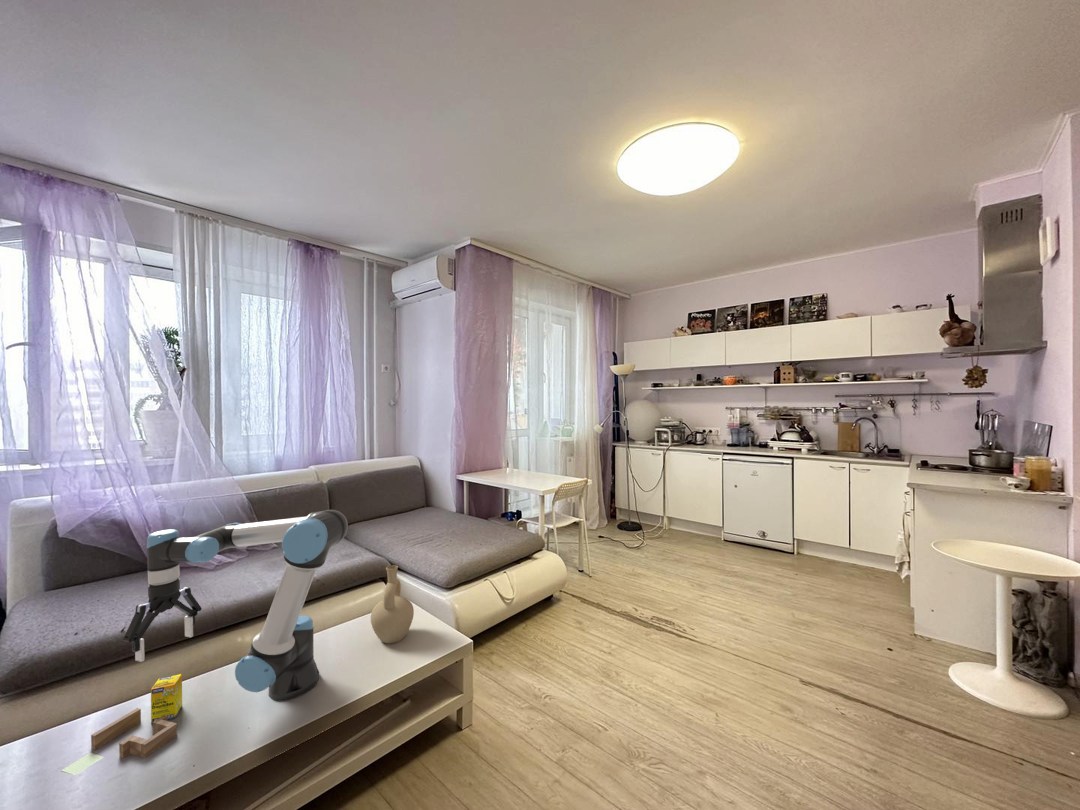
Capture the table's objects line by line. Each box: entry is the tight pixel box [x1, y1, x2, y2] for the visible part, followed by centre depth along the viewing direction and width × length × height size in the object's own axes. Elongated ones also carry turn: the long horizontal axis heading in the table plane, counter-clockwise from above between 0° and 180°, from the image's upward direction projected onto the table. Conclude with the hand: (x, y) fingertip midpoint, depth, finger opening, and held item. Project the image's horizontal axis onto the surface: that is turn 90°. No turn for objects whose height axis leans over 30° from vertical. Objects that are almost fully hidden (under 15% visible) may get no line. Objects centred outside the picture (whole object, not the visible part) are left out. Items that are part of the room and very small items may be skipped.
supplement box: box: [150, 673, 183, 725], centre depth 133 cm, size 6×6×11 cm
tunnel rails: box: [90, 707, 178, 759], centre depth 123 cm, size 19×11×4 cm, turn 74°
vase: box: [370, 564, 415, 644], centre depth 174 cm, size 17×17×30 cm
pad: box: [61, 752, 104, 776], centre depth 114 cm, size 10×6×1 cm, turn 74°
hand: (165, 647), depth 134 cm, fingers open, 13 cm apart
